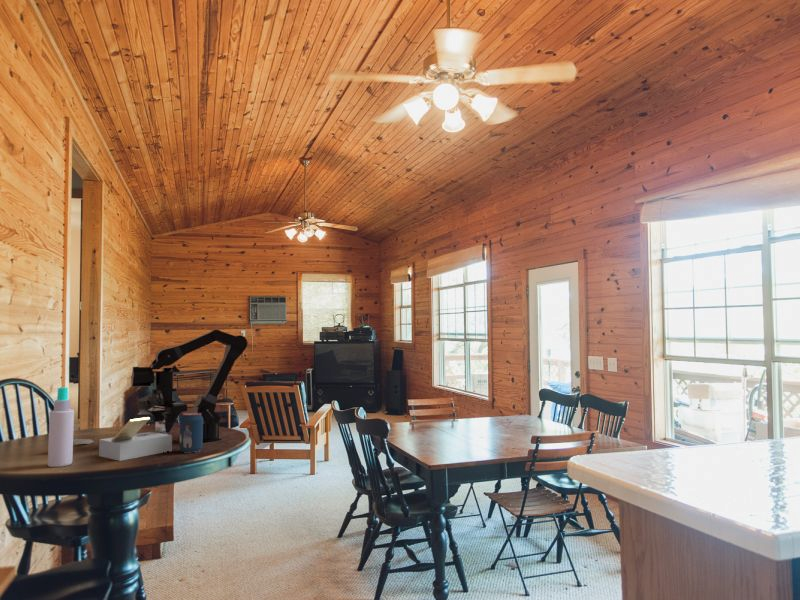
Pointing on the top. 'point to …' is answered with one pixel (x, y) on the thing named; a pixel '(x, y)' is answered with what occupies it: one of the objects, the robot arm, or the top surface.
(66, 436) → the spray bottle
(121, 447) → the block
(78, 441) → the caliper
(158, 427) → the steel pin
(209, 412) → the robot arm
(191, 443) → the soda can
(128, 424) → the plate
